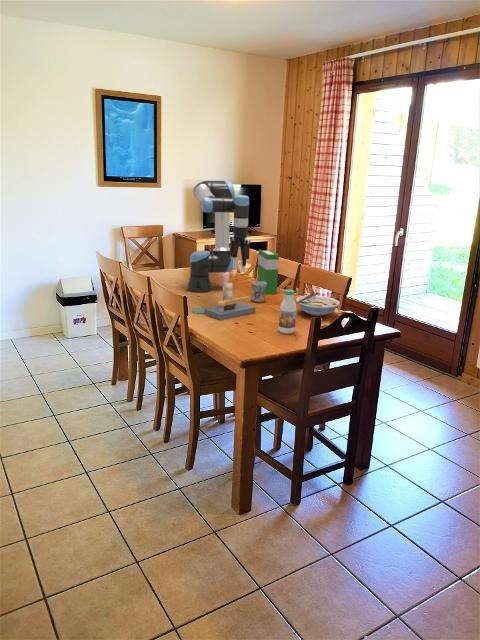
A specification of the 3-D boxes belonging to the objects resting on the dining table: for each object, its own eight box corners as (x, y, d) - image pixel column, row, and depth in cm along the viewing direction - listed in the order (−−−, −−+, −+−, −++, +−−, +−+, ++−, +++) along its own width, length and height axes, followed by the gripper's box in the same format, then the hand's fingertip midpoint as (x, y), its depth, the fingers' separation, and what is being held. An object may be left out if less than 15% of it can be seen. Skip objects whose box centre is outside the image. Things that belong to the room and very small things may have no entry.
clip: (216, 305, 254) (216, 301, 253) (246, 299, 267) (246, 295, 266) (220, 307, 251) (220, 303, 250) (251, 301, 264) (251, 297, 264)
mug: (267, 303, 283) (268, 284, 280) (251, 303, 282) (252, 284, 279) (264, 297, 295) (264, 279, 292) (248, 297, 294) (249, 279, 290)
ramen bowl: (327, 324, 251) (329, 308, 248) (286, 315, 262) (287, 300, 259) (345, 312, 271) (347, 298, 268) (306, 305, 282) (308, 291, 280)
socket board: (204, 314, 259) (204, 303, 257) (239, 306, 274) (239, 296, 272) (220, 320, 250) (220, 309, 248) (255, 312, 265) (255, 302, 263)
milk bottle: (277, 328, 241) (279, 288, 235) (293, 328, 241) (296, 288, 235) (279, 333, 233) (282, 292, 227) (296, 334, 234) (299, 292, 228)
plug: (213, 312, 263) (214, 282, 258) (227, 309, 269) (228, 280, 264) (225, 316, 256) (226, 286, 251) (239, 313, 262) (241, 283, 257)
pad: (187, 310, 263) (187, 309, 263) (201, 308, 269) (201, 307, 269) (198, 315, 257) (198, 313, 257) (212, 312, 263) (212, 311, 262)
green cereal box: (256, 286, 319) (258, 249, 312) (267, 286, 321) (270, 249, 314) (264, 294, 303) (267, 254, 296) (276, 293, 305) (279, 254, 297)
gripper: (223, 224, 262) (222, 268, 269) (247, 229, 249) (245, 274, 256) (234, 223, 266) (232, 267, 273) (258, 228, 253) (255, 273, 261)
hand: (238, 270), depth 265 cm, fingers open, 5 cm apart
